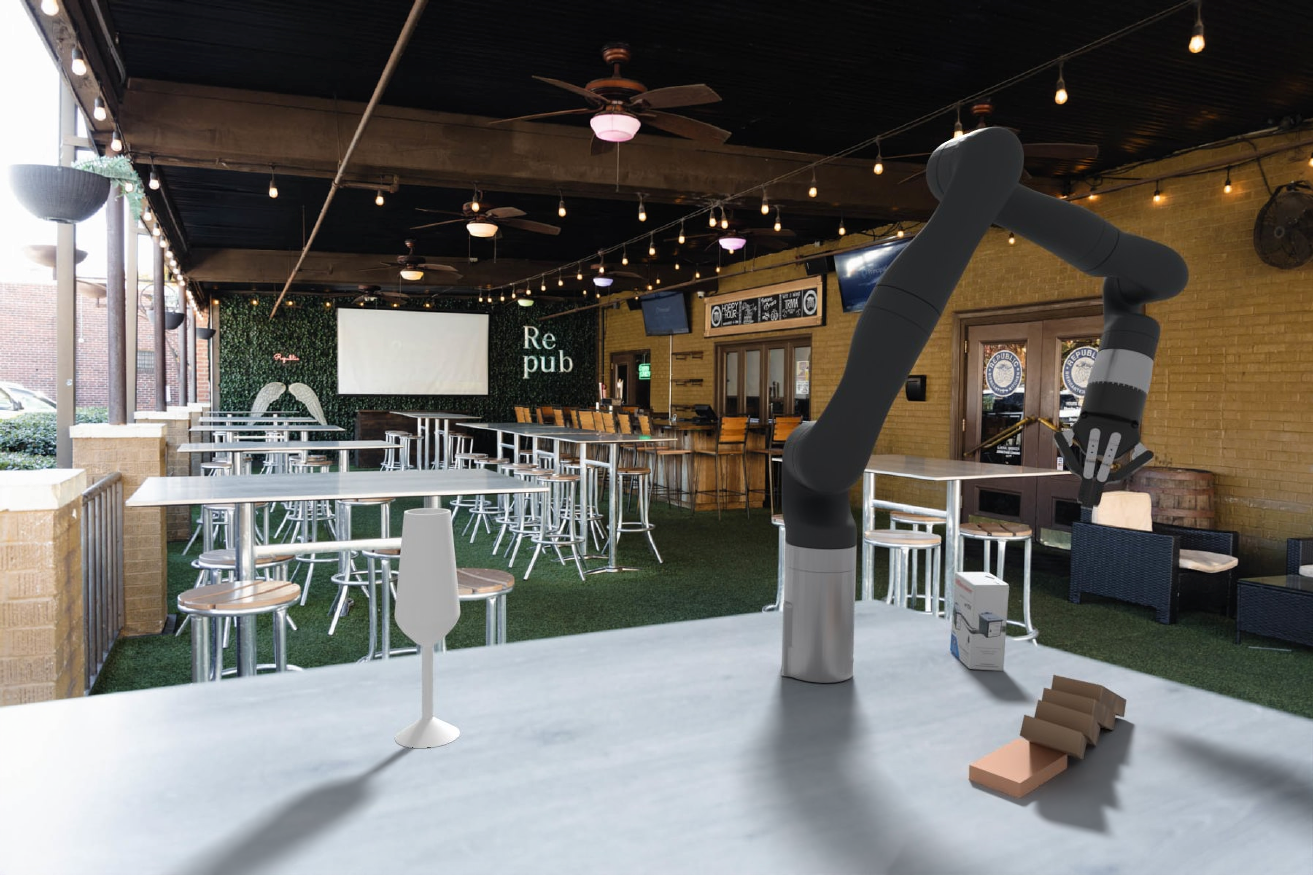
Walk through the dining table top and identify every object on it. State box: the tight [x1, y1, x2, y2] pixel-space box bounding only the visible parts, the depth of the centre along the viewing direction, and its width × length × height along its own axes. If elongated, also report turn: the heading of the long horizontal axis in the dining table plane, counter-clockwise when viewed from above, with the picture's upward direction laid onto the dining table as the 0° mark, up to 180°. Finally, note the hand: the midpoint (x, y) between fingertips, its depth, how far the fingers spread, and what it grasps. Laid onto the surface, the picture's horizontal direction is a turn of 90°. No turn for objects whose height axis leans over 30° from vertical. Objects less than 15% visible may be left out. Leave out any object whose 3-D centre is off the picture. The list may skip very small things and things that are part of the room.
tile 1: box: [1050, 674, 1127, 718], centre depth 97 cm, size 2×5×10 cm
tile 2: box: [1041, 687, 1116, 731], centre depth 94 cm, size 2×5×10 cm
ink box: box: [950, 571, 1010, 672], centre depth 119 cm, size 9×5×12 cm, turn 179°
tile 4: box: [1019, 714, 1088, 760], centre depth 84 cm, size 2×5×10 cm
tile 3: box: [1033, 699, 1101, 747], centre depth 89 cm, size 2×5×10 cm
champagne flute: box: [394, 507, 461, 749], centre depth 91 cm, size 7×7×24 cm
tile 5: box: [968, 737, 1068, 799], centre depth 84 cm, size 2×5×10 cm
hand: (1086, 508), depth 116 cm, fingers closed
